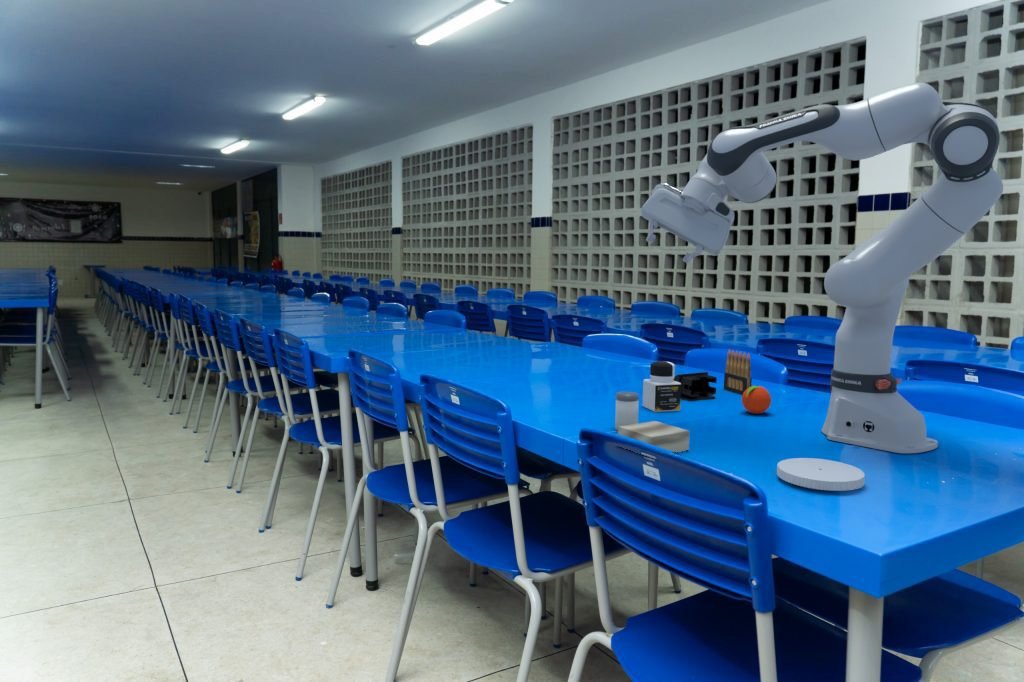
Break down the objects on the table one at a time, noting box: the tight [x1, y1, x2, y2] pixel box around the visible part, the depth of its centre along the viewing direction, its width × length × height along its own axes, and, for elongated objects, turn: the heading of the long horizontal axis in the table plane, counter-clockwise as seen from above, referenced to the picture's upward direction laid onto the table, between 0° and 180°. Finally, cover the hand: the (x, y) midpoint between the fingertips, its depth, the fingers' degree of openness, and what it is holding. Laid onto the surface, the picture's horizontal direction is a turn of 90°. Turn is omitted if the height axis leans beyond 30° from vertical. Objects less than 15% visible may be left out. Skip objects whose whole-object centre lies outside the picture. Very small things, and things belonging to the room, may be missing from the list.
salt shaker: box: [614, 391, 640, 431], centre depth 162 cm, size 5×5×8 cm
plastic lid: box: [776, 457, 866, 492], centre depth 126 cm, size 14×14×2 cm
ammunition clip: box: [723, 348, 753, 396], centre depth 206 cm, size 11×2×12 cm, turn 18°
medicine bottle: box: [642, 360, 682, 413], centre depth 184 cm, size 7×7×12 cm
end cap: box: [673, 371, 718, 402], centre depth 198 cm, size 10×7×7 cm
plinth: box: [617, 420, 690, 454], centre depth 147 cm, size 10×10×4 cm
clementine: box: [741, 384, 772, 415], centre depth 179 cm, size 8×7×7 cm
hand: (666, 251), depth 163 cm, fingers open, 8 cm apart
